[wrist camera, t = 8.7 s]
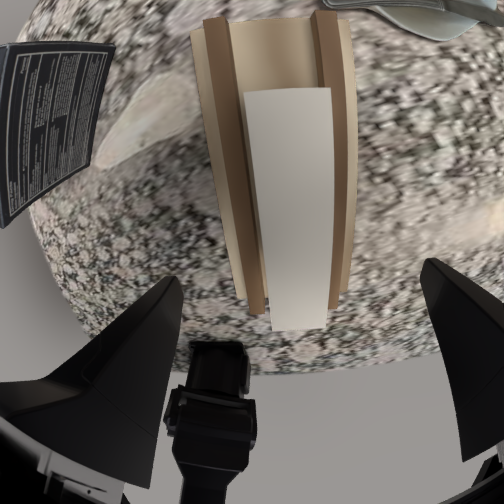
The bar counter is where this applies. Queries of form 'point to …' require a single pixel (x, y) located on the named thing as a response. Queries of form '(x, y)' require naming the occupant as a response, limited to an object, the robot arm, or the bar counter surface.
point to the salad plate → (430, 14)
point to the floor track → (237, 135)
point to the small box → (46, 116)
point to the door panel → (294, 200)
